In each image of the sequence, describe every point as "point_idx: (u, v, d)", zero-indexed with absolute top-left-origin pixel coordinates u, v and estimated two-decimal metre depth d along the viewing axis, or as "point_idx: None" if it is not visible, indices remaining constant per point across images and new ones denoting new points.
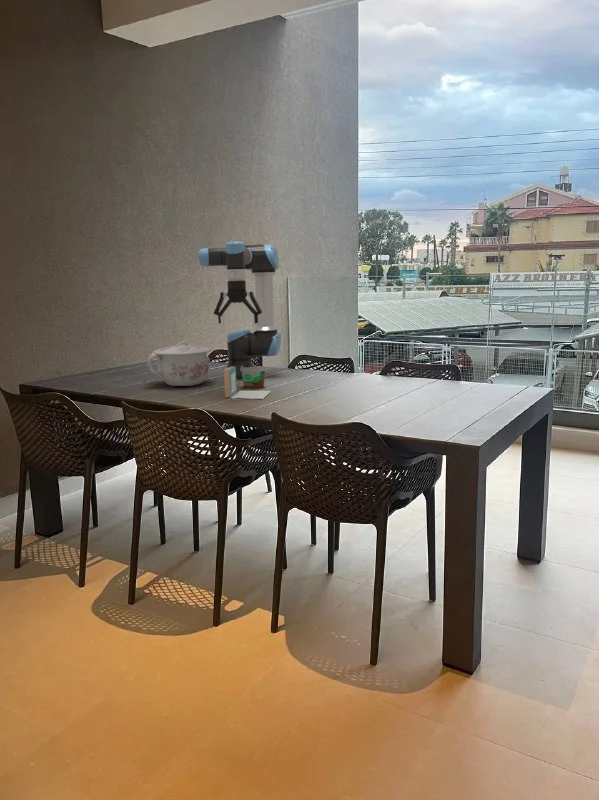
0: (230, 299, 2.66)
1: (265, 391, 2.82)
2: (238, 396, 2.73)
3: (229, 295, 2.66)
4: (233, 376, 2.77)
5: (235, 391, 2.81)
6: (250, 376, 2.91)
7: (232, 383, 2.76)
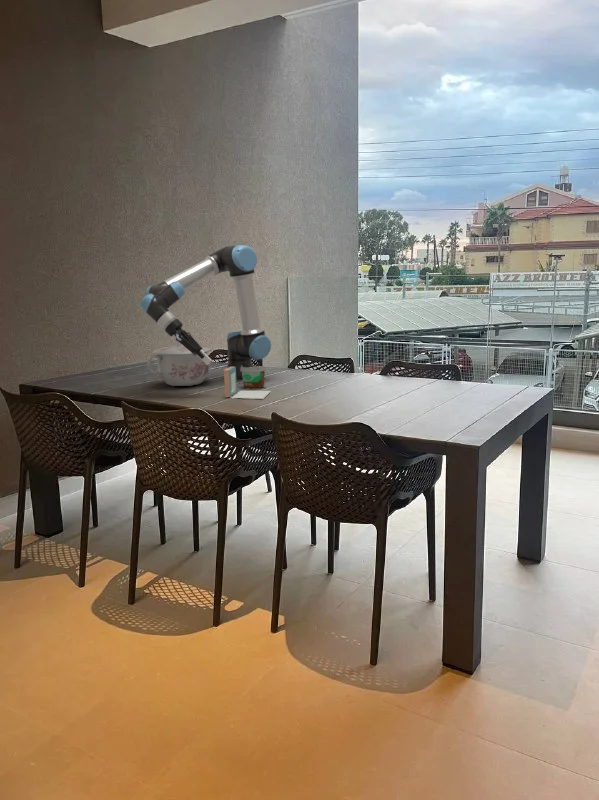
0: None
1: (265, 391, 2.82)
2: (238, 396, 2.73)
3: None
4: (233, 376, 2.77)
5: (235, 391, 2.81)
6: (250, 376, 2.91)
7: (232, 383, 2.76)
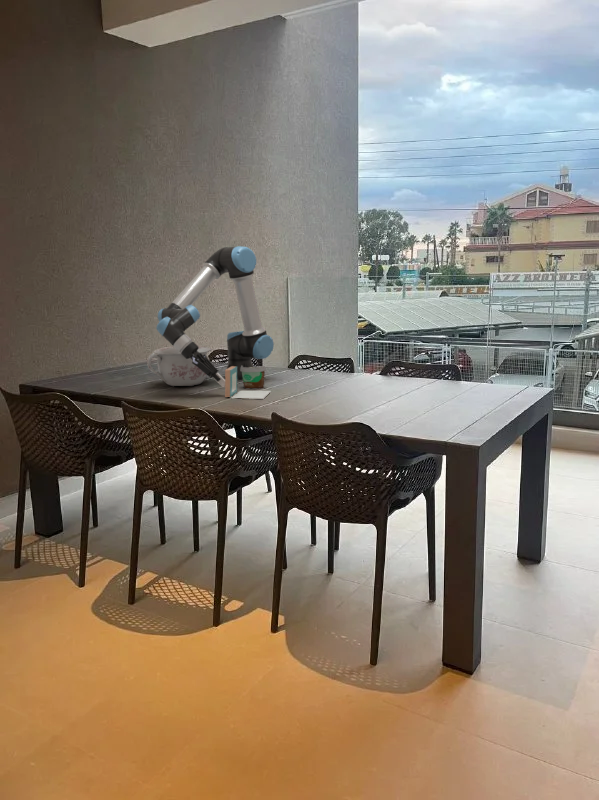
0: None
1: (265, 391, 2.82)
2: (238, 396, 2.73)
3: None
4: (234, 376, 2.77)
5: (235, 391, 2.81)
6: (250, 376, 2.91)
7: (233, 383, 2.76)
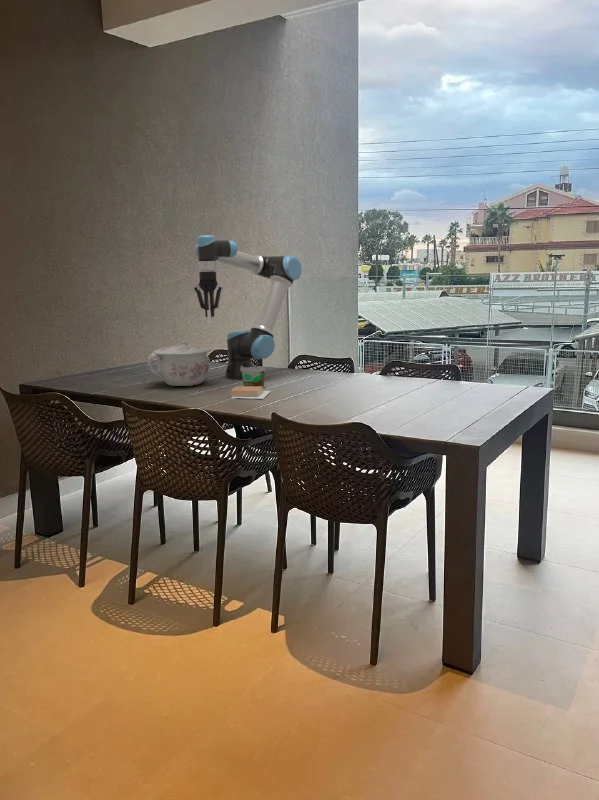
0: (204, 290, 2.86)
1: (265, 391, 2.82)
2: None
3: (201, 285, 2.87)
4: None
5: None
6: (250, 376, 2.91)
7: None
